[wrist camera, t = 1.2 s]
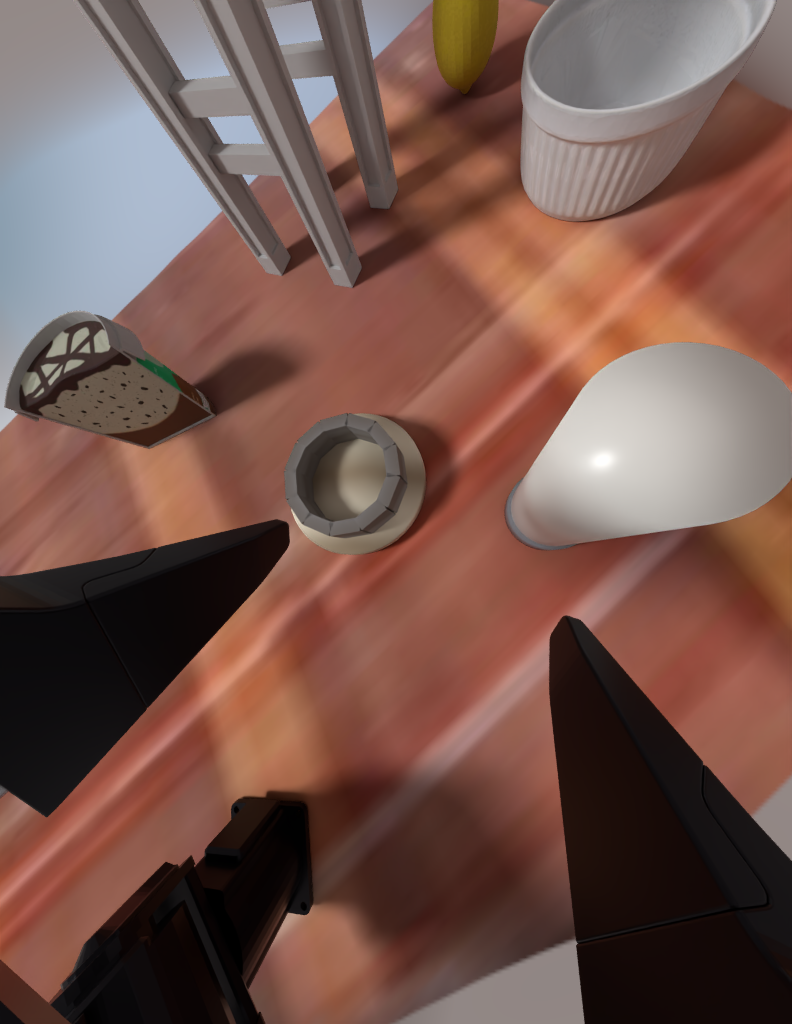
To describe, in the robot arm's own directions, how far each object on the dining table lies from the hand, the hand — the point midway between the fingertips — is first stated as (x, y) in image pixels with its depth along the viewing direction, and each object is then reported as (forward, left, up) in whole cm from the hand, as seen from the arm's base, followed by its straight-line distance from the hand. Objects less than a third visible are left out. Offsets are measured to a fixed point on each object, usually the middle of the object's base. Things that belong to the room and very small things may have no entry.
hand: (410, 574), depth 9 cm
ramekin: (+31, -18, -14) cm, 38 cm away
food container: (+21, +26, -14) cm, 36 cm away
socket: (+8, +6, -13) cm, 17 cm away
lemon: (+46, -10, -14) cm, 49 cm away
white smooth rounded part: (+3, -8, -13) cm, 16 cm away
